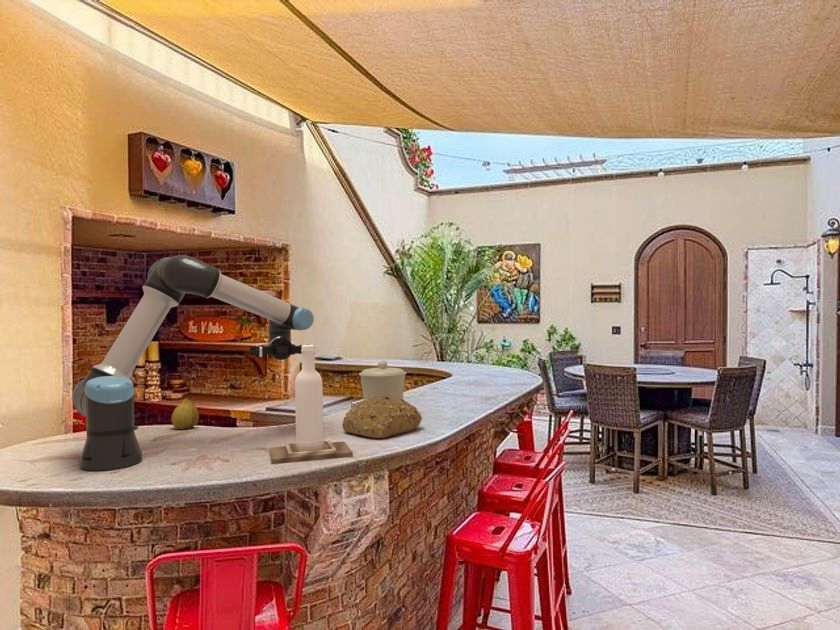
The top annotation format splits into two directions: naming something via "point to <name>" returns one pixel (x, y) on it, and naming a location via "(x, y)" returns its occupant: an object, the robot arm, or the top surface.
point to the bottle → (309, 404)
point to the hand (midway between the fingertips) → (283, 352)
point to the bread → (381, 417)
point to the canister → (382, 381)
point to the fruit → (185, 415)
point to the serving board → (309, 452)
